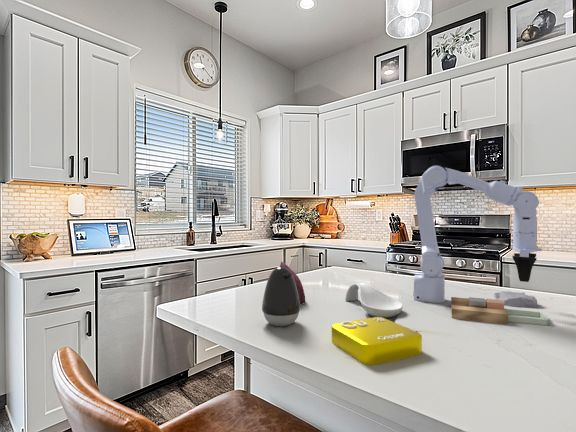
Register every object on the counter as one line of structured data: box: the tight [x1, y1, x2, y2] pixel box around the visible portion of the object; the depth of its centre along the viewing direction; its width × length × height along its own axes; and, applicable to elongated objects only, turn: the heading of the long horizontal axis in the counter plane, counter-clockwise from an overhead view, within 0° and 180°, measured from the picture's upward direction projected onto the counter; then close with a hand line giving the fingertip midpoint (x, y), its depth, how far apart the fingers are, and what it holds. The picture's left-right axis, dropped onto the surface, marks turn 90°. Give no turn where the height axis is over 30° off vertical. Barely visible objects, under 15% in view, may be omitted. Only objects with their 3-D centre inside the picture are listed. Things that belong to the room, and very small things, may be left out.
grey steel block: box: [468, 296, 486, 308], centre depth 98 cm, size 4×4×4 cm
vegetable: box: [279, 261, 306, 305], centre depth 115 cm, size 10×10×15 cm
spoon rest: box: [345, 282, 404, 319], centre depth 106 cm, size 24×12×7 cm, turn 20°
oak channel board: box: [450, 296, 509, 325], centre depth 98 cm, size 13×14×4 cm
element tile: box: [331, 316, 423, 366], centre depth 77 cm, size 15×15×5 cm
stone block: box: [493, 290, 538, 308], centre depth 110 cm, size 12×5×10 cm
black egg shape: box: [261, 266, 301, 327], centre depth 93 cm, size 10×10×15 cm
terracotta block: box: [485, 298, 505, 310], centre depth 96 cm, size 4×4×4 cm
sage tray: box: [504, 307, 551, 327], centre depth 93 cm, size 9×8×2 cm
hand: (524, 279), depth 102 cm, fingers open, 7 cm apart
